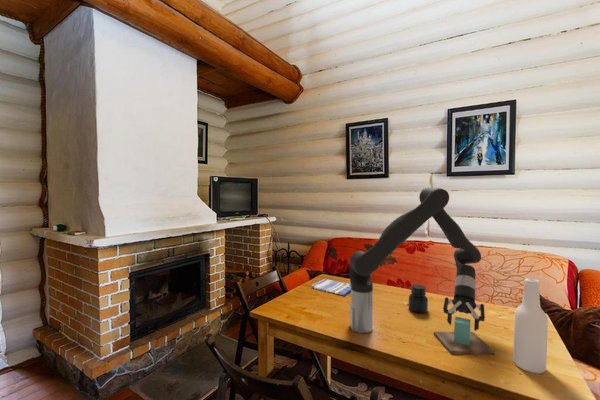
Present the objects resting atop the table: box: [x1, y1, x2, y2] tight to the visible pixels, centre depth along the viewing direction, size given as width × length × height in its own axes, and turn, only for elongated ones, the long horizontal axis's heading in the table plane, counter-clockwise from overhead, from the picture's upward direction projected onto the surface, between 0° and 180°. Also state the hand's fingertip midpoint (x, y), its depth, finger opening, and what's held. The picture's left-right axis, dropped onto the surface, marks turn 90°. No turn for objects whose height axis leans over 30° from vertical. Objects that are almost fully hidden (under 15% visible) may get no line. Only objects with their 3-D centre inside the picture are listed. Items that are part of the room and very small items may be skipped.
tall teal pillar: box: [453, 316, 472, 346], centre depth 112 cm, size 5×5×8 cm
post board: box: [433, 331, 496, 355], centre depth 112 cm, size 16×14×7 cm
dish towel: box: [311, 278, 351, 297], centre depth 174 cm, size 17×24×3 cm
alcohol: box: [512, 277, 549, 375], centre depth 97 cm, size 9×9×30 cm
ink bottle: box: [408, 283, 429, 314], centre depth 143 cm, size 10×9×12 cm
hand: (462, 326), depth 111 cm, fingers open, 8 cm apart
